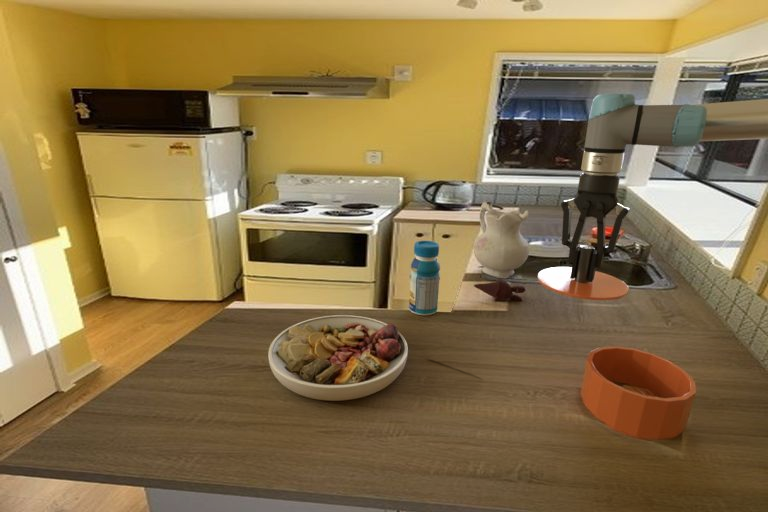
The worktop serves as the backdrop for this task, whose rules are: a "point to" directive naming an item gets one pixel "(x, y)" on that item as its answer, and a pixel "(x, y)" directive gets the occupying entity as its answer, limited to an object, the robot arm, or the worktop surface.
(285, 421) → the worktop surface
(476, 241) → the ceramic pitcher
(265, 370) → the worktop surface
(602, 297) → the pot lid
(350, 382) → the bowl
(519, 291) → the icecream
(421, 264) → the beverage bottle
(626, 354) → the pot
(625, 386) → the pastry
